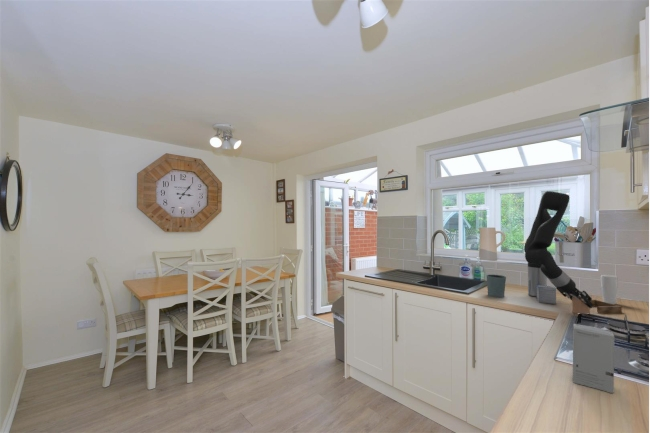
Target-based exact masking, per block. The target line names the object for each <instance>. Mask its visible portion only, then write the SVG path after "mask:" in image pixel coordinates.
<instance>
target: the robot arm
mask: <svg viewBox="0 0 650 433" xmlns="http://www.w3.org/2000/svg"><path fill="white" fill-rule="evenodd" d="M569 202H570V195H569V194H566V193H562V192H559V191H552V190H546V191H544V193H543V194H542V196H541V199H540V202H539V205H538V210H537V213H536V215H535V218H534V220H533V224H532V226H531V230H530V232H529V235H528V237H527V239H526V241H525V243H524V246H523V251H524V258H525V260H526V262H527V295H528V296H531V297H535V298H537V285H538V286H548V281H547V279H548V280H549V282H550V283H551V284H552V286H553V287H555V288H556V291H558V293H560V294H561V295H562V296H563V297H565V298H566V297H567V298H568V299H570V301H572V296H574V297H575V298H577V299H578V300H581V301H583V302H584V303H585V304H586V305H587V306H588V307H589V308H590V309H592V307H594V306H593V304H592V303H591V302H590V301H591V300H593V299H592V297H591V296H590V294H588V293H587V291H586V290H582V291H581V290H579V289H578V288H577V286H576V282H575V281H574V280H573V279H572V278H571V277H570V275H568V273H566V272H565V271H564V270H563V269H562V268H561V267H560V266H559V265H558V264H557V263H556V260H555V258H554V256H553V254H552V253H551V252H550V251H549V250H548V248H549V247H551V246H552V243H553V241H554V238H555V234H556V231H557V229H558V227H559V225H560V223H561V221H562V219H563V218H564V215H565V213H566V211H567V208H568V206H569ZM550 210H551V211H555V212H556V213H555V214H554V215H553V216H551V215H550V213H549V212H548V211H550ZM579 295H580V297H578V296H579ZM582 298H583V299H584V300H583V299H582Z"/></svg>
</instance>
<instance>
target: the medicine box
mask: <svg viewBox="0 0 650 433" xmlns="http://www.w3.org/2000/svg"><path fill="white" fill-rule="evenodd" d="M536 301H537V302H538V303H541V304H542V303H543V304H554V305H555V304H557V289H556V287H555V286H553V285H552V286H551V285H550V286H549V285H547V286H538V285H537V297H536Z"/></svg>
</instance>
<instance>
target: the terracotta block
mask: <svg viewBox="0 0 650 433" xmlns="http://www.w3.org/2000/svg"><path fill="white" fill-rule="evenodd" d="M578 297H580V295H579V296H578ZM582 299H583V298H582ZM583 300H584V299H583ZM571 302H572V303H571V304H572V311H571V312H572V314H576V313H589V314H590V315H591V308H589V307H588V306H587V305H586V304H585V303H584V302H583V301H581V300H578V299H577V298H575V297H574V296H572V300H571Z"/></svg>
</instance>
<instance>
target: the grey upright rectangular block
mask: <svg viewBox="0 0 650 433" xmlns="http://www.w3.org/2000/svg"><path fill="white" fill-rule="evenodd" d="M572 326H573V329H572V330H573V331H572V332H573V333H572V335H573V336H572V337H573V338H572V382H573V383H574V384H577V385H582V386H584V387H589V388H592V389H595V390H600V391H603V392H607V393H610V394H614V392H615V391H614V386H615V385H614V384H615V379H614V378H615V374H614V373H615V334H614V333H613V331H612V330H608V329H604V328H599V327H594V326H589V325H584V324H578V323H573V325H572Z"/></svg>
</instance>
